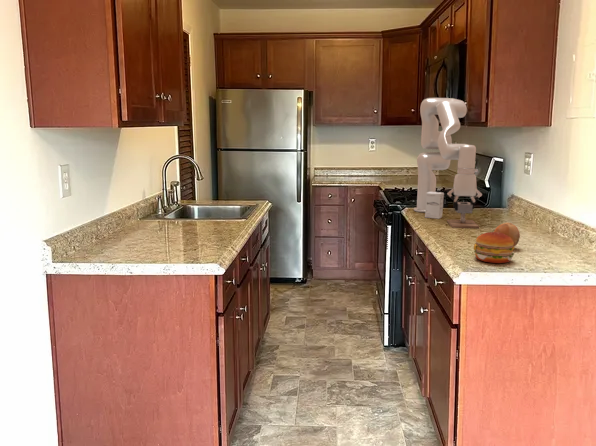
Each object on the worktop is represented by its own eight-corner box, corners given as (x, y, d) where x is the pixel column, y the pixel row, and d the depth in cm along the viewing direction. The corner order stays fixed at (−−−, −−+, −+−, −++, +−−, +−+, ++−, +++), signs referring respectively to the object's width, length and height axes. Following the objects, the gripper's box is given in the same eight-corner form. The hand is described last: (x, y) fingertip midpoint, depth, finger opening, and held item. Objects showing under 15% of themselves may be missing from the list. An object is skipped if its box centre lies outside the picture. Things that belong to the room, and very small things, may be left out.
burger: (498, 267, 183) (500, 238, 181) (464, 259, 194) (466, 231, 192) (521, 262, 191) (523, 233, 189) (487, 254, 201) (489, 227, 200)
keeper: (446, 221, 267) (447, 208, 266) (472, 222, 265) (473, 208, 264) (451, 227, 251) (452, 213, 250) (479, 228, 250) (480, 214, 249)
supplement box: (424, 217, 277) (425, 192, 274) (428, 215, 283) (429, 191, 281) (439, 219, 273) (440, 193, 271) (442, 216, 280) (444, 192, 277)
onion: (496, 244, 217) (498, 219, 216) (522, 248, 211) (524, 222, 209) (487, 248, 210) (489, 222, 208) (514, 252, 204) (516, 226, 202)
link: (455, 210, 261) (455, 201, 261) (468, 210, 261) (469, 202, 260) (457, 212, 254) (458, 204, 253) (472, 213, 253) (472, 204, 252)
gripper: (483, 171, 256) (481, 209, 260) (445, 170, 259) (443, 208, 262) (487, 172, 249) (484, 212, 252) (447, 172, 251) (445, 211, 254)
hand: (463, 209), depth 257 cm, fingers closed on link, 6 cm apart
